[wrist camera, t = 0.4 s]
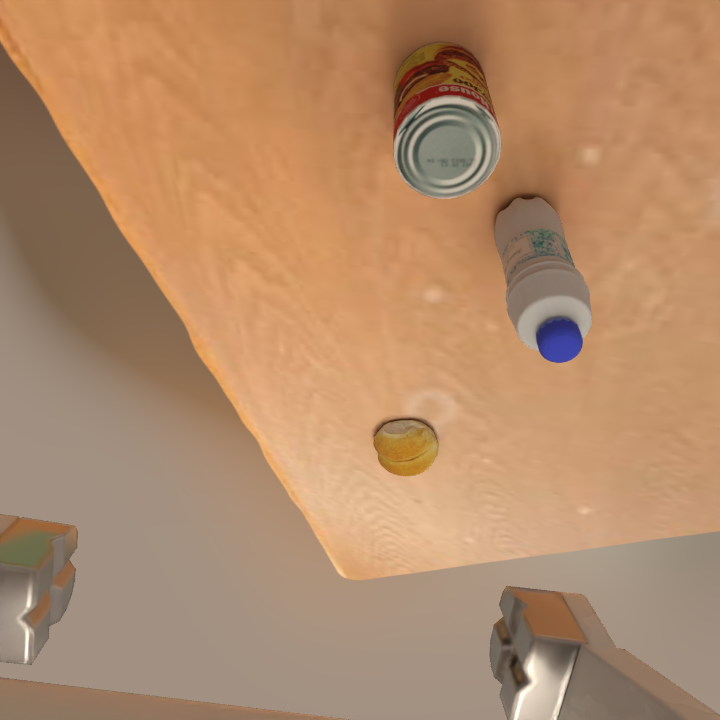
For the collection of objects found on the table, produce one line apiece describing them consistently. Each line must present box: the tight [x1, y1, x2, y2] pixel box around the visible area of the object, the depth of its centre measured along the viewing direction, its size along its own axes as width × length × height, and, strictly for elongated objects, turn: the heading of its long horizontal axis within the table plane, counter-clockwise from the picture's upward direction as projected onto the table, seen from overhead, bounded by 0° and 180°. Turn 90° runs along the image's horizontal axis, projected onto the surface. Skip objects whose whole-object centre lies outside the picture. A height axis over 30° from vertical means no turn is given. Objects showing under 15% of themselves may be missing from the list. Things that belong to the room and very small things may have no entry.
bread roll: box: [374, 420, 438, 476], centre depth 87 cm, size 8×9×4 cm
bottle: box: [494, 197, 592, 363], centre depth 58 cm, size 7×7×20 cm
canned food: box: [393, 42, 502, 199], centre depth 53 cm, size 8×8×12 cm
